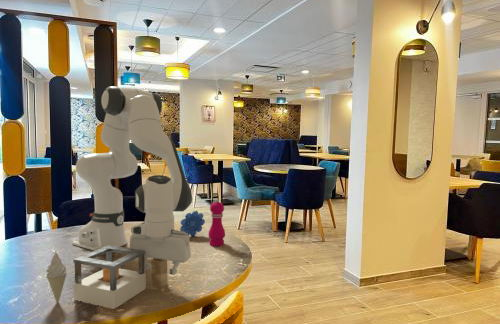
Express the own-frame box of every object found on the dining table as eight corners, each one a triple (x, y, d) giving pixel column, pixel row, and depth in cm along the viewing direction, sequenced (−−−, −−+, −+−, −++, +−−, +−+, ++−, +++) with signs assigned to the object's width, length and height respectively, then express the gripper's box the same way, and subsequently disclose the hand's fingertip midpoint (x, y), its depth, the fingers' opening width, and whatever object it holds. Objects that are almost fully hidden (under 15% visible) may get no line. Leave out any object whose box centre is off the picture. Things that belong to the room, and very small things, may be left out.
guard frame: (73, 283, 104) (73, 259, 103) (108, 266, 117) (108, 245, 116) (113, 291, 99) (113, 266, 98) (145, 273, 112) (145, 250, 111)
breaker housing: (74, 300, 104) (73, 283, 104) (109, 281, 117) (108, 266, 117) (113, 309, 99) (113, 291, 99) (145, 288, 112) (145, 273, 112)
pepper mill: (222, 247, 154) (223, 200, 152) (206, 246, 155) (206, 199, 153) (226, 242, 161) (227, 197, 159) (211, 241, 162) (211, 196, 160)
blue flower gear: (202, 232, 175) (202, 208, 174) (206, 236, 169) (206, 211, 168) (178, 234, 171) (178, 209, 170) (181, 238, 165) (181, 212, 164)
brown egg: (99, 284, 107) (99, 267, 106) (110, 278, 111) (110, 262, 110) (111, 286, 105) (111, 270, 105) (122, 281, 109) (121, 264, 109)
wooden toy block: (151, 287, 113) (151, 259, 112) (157, 283, 116) (157, 256, 116) (160, 289, 112) (160, 261, 111) (167, 285, 115) (167, 257, 114)
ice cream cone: (52, 298, 105) (50, 248, 103) (70, 298, 105) (69, 247, 104) (43, 307, 100) (42, 253, 98) (63, 306, 100) (61, 253, 99)
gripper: (194, 229, 112) (194, 273, 113) (138, 222, 119) (139, 264, 120) (183, 234, 106) (184, 280, 107) (126, 227, 113) (126, 270, 114)
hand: (160, 271), depth 114 cm, fingers open, 8 cm apart
